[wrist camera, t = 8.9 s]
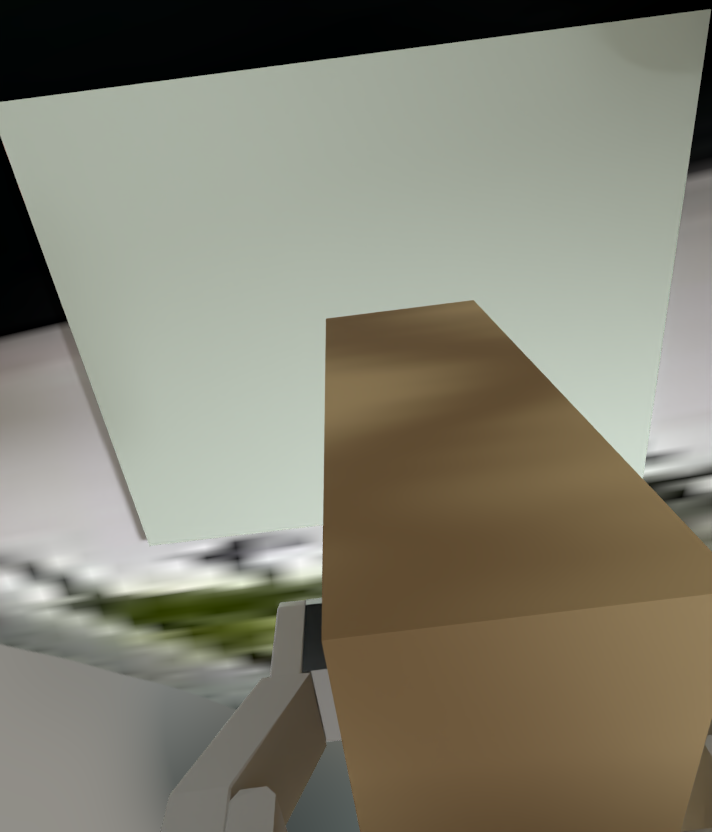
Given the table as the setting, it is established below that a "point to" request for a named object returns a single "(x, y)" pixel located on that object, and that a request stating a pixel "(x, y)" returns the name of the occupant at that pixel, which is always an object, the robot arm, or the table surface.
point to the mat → (356, 240)
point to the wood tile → (500, 594)
